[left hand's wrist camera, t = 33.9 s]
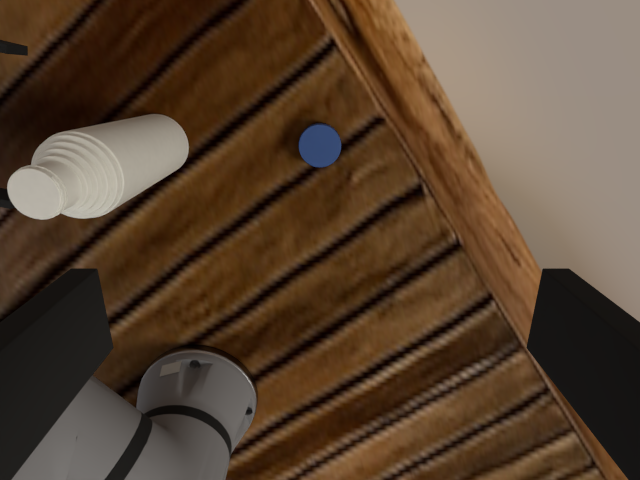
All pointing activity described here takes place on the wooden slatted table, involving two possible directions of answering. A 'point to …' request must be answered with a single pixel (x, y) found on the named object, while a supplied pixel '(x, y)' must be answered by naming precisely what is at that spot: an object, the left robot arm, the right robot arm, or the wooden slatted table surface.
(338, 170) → the wooden slatted table surface
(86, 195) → the bottle
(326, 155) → the cap
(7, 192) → the right robot arm
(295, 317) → the wooden slatted table surface
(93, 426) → the left robot arm
